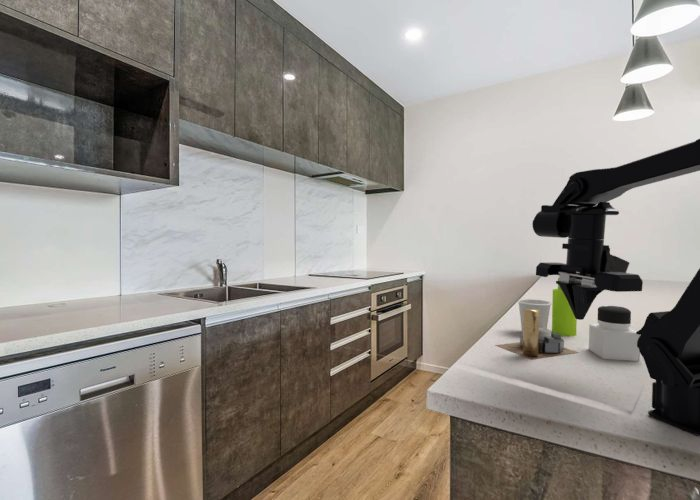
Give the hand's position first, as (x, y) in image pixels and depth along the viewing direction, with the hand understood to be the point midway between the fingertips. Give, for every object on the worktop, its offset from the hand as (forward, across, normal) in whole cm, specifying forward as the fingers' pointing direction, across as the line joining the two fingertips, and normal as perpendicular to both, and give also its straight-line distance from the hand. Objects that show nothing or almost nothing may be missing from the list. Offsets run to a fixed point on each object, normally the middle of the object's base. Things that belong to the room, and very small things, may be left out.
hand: (579, 319), depth 68 cm
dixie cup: (+13, +27, -13) cm, 33 cm away
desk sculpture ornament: (+11, +14, -3) cm, 18 cm away
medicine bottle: (+12, +8, -18) cm, 23 cm away
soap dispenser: (+13, +25, -21) cm, 36 cm away
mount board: (+12, +15, -3) cm, 20 cm away
